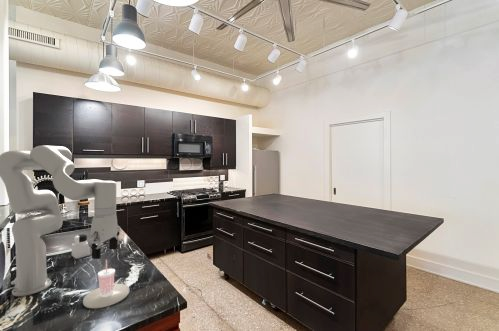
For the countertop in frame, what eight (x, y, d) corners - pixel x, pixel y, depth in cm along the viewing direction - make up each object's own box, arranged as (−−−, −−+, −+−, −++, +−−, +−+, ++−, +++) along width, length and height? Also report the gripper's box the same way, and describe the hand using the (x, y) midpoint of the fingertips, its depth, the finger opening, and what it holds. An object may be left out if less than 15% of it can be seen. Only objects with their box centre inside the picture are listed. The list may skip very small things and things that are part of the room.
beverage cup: (110, 288, 100) (110, 255, 99) (118, 292, 96) (118, 258, 96) (94, 295, 94) (94, 260, 94) (103, 299, 91) (102, 264, 91)
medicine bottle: (85, 252, 142) (85, 232, 142) (90, 255, 138) (90, 234, 138) (71, 256, 137) (71, 235, 136) (76, 259, 132) (75, 238, 132)
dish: (72, 308, 88) (72, 305, 88) (103, 285, 104) (103, 282, 104) (112, 310, 86) (112, 307, 86) (137, 287, 102) (137, 284, 102)
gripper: (111, 206, 103) (111, 245, 104) (79, 216, 86) (79, 262, 87) (127, 207, 103) (127, 246, 103) (98, 217, 86) (97, 263, 86)
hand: (105, 253), depth 95 cm, fingers open, 9 cm apart
